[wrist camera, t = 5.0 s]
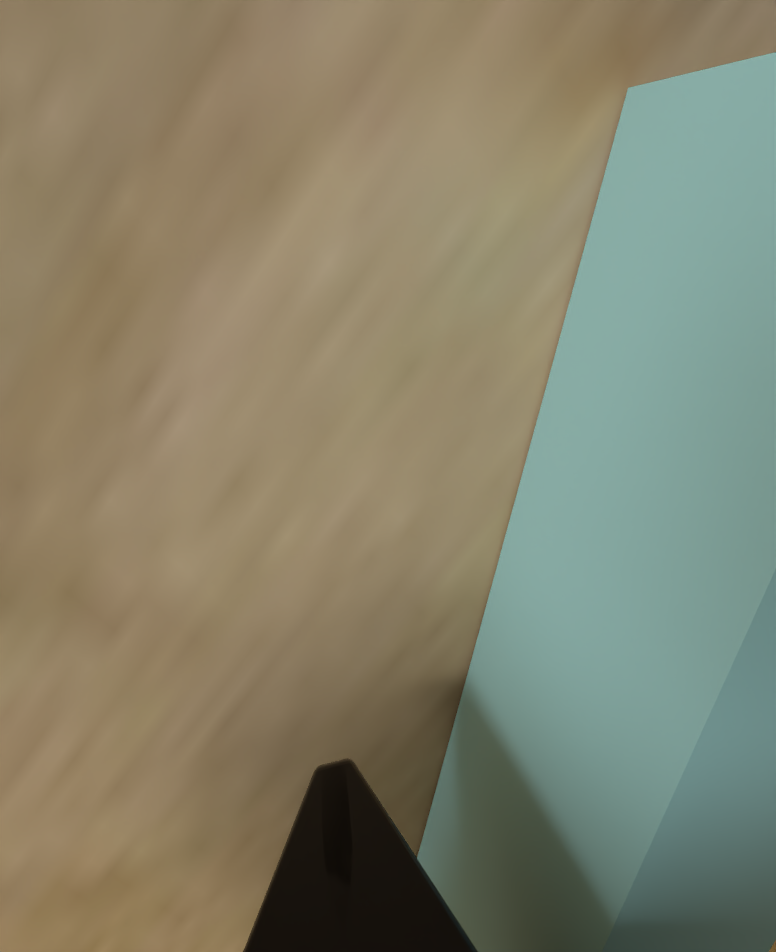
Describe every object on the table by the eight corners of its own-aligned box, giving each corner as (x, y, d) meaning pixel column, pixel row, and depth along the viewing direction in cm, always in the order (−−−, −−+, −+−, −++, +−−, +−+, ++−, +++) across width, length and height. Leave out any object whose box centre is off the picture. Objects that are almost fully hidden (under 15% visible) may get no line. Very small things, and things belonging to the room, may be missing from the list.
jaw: (753, -394, 5) (1741, -1600, 2) (920, -329, 6) (2077, -1245, 2) (397, 921, 11) (446, 1284, 8) (488, 920, 11) (578, 1270, 8)
